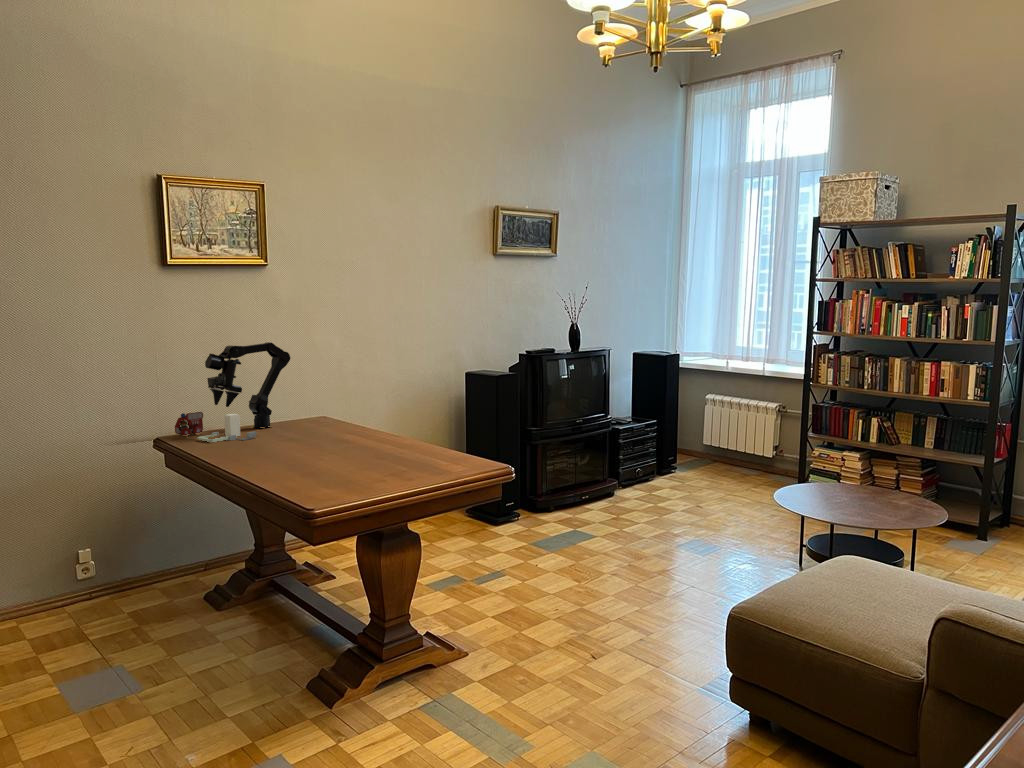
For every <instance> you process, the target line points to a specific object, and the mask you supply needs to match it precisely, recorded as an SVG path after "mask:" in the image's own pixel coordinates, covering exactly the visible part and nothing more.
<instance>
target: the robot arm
mask: <svg viewBox="0 0 1024 768" xmlns="http://www.w3.org/2000/svg"><path fill="white" fill-rule="evenodd" d="M262 352H266V353H267V354H268V355H269V356H270V357H271V367H270V369H269V370H268V373H267V375H266V377H265V379H264V381H263V383H262V385H261V387H260V389H259V391H258V392H257V394H252V395H251V397H250V400H249V401H248V409H249V410H250V411H251V413H252V415H254V419H253V427H256V428H255V429H258V428H260V427H268V426H271V416H272V412H273V411H272V409H270V407H268V404H269V395H270V394H271V392H272V389H273V388H274V385H275V383H276V382H277V380H278V377H279V376H280V373H281V371H282V370H283V369H285V368H286V367H287V365H289V364H288V363H290V361H291V354H290V353H289V352H288V351H285V350H284V349H282V348H280V347H278V346H277V345H276V344H275V343H273V342H267V341H266V342H264V343H257V344H249V345H248V344H247V345H226V346H225V348H224V349H223V351H222V352H221V353H220V354H214V353H209V355H208V356H207V357H206V360H205V362H204V366H205V368H206V369H210V370H215V371H221V373H220V372H219V373H218V375H217V376H211V377H207V378H206V379H207V385H208V387H207V388H209V390H210V391H211V392H212V394H213V401H214V405H215V406H219V405H218V404H219V403H220V401H221V398H222V397H223V394H224V392H225V394H226V399H225V400H226V401H225V407H227V408H229V407H230V406H231V405H232V403H233V402H234V400H235V399H236V398H237V397H238V396H239V395H240V394H242V393H243V387H242V386H241V385H240V386H239V385H235V384H233V383H234V379H236V378H237V376H236V375H235V373H236V370H237V365H240V366H241V365H242V362H241V361H240V359H239V358H240V357H241V358H242V357H243V356H246V355H248V354H249V355H250V354H255V353H262ZM224 390H225V391H224Z"/></svg>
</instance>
